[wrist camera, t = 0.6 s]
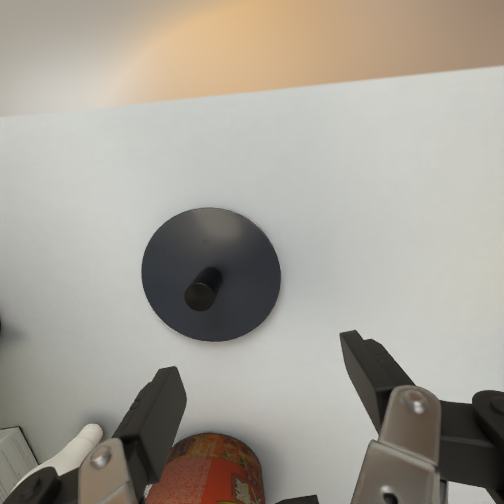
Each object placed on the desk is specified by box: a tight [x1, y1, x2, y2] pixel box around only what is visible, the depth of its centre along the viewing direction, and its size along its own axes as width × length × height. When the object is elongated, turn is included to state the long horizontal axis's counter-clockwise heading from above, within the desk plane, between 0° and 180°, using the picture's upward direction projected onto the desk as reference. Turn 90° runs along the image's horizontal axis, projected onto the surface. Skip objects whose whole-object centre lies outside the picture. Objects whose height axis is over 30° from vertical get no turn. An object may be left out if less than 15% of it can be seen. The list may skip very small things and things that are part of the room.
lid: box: [142, 208, 281, 342], centre depth 24 cm, size 15×15×6 cm
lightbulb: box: [9, 424, 103, 495], centre depth 26 cm, size 6×6×11 cm
